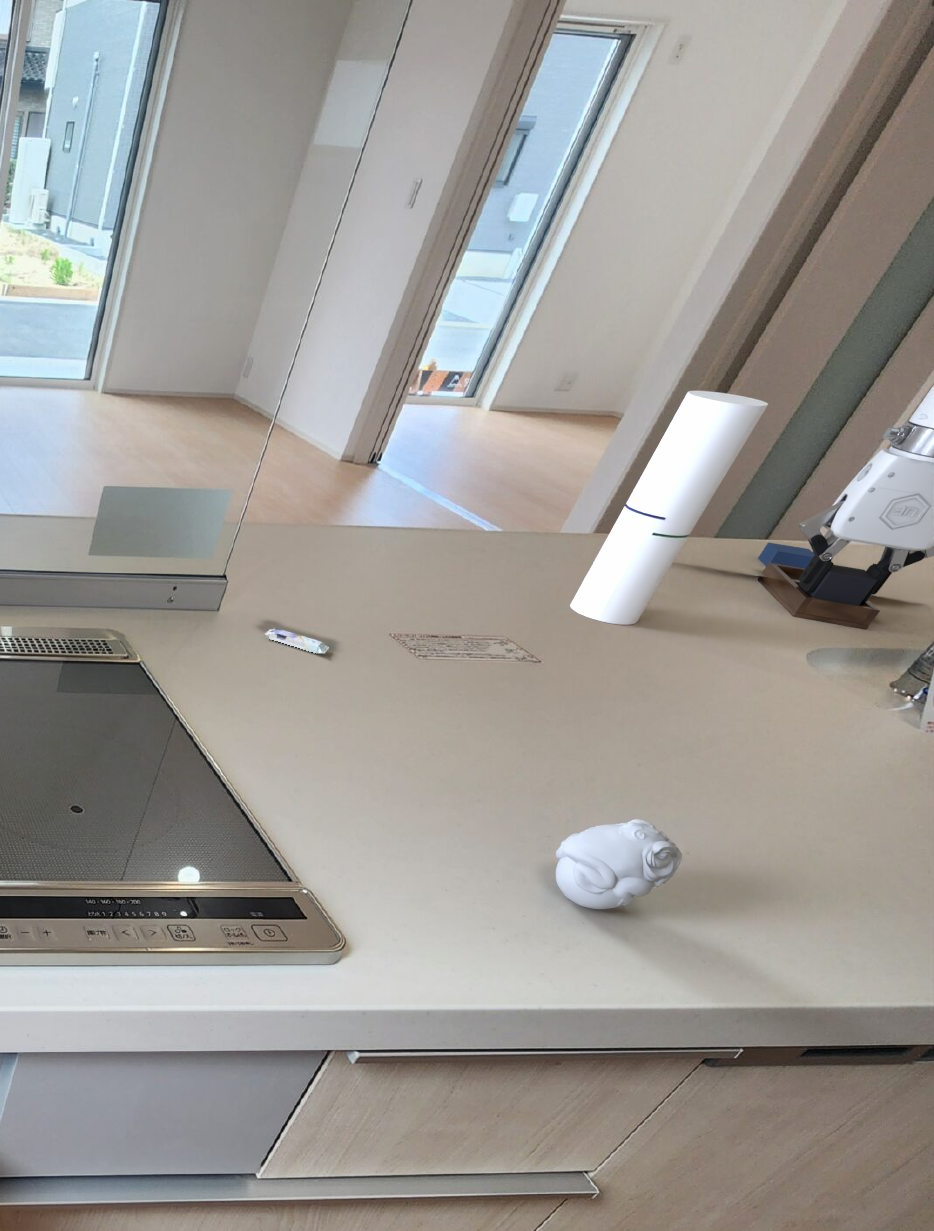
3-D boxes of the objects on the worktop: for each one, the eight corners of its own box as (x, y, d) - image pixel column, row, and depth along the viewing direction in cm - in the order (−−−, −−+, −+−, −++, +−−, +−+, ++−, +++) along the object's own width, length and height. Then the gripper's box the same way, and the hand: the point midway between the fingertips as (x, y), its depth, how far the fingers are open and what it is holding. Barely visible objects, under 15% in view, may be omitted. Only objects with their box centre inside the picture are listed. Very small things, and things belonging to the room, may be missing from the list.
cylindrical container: (577, 597, 123) (693, 388, 108) (642, 614, 119) (772, 400, 104) (563, 610, 119) (682, 395, 104) (630, 629, 115) (763, 408, 100)
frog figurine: (656, 935, 68) (716, 859, 64) (552, 920, 69) (605, 844, 65) (614, 883, 73) (667, 809, 69) (517, 869, 74) (564, 795, 70)
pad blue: (793, 572, 136) (809, 548, 134) (803, 581, 133) (820, 557, 131) (752, 565, 137) (767, 542, 135) (761, 574, 134) (777, 551, 132)
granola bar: (329, 651, 105) (332, 643, 104) (322, 658, 103) (326, 649, 103) (268, 632, 108) (271, 624, 108) (261, 638, 107) (264, 630, 106)
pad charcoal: (845, 595, 123) (864, 569, 121) (858, 606, 120) (878, 580, 118) (800, 587, 124) (818, 561, 122) (812, 597, 121) (830, 572, 119)
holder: (824, 591, 130) (836, 573, 129) (866, 629, 119) (880, 610, 118) (757, 579, 132) (768, 562, 131) (792, 616, 122) (805, 597, 120)
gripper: (861, 439, 111) (760, 589, 122) (1051, 464, 106) (928, 618, 116) (837, 426, 116) (742, 570, 127) (1016, 450, 111) (901, 598, 122)
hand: (832, 592), depth 122 cm, fingers closed on pad charcoal, 4 cm apart
